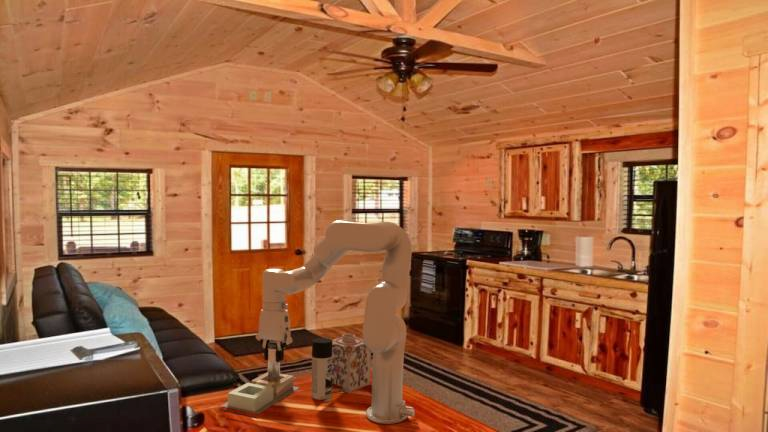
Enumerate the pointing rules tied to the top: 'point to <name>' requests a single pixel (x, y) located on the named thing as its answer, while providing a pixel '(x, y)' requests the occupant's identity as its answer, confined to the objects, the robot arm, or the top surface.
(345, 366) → the decorative jar
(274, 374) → the steel pin
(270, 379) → the maple mount
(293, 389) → the base board
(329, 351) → the spray can
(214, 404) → the top surface
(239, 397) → the sage dock
